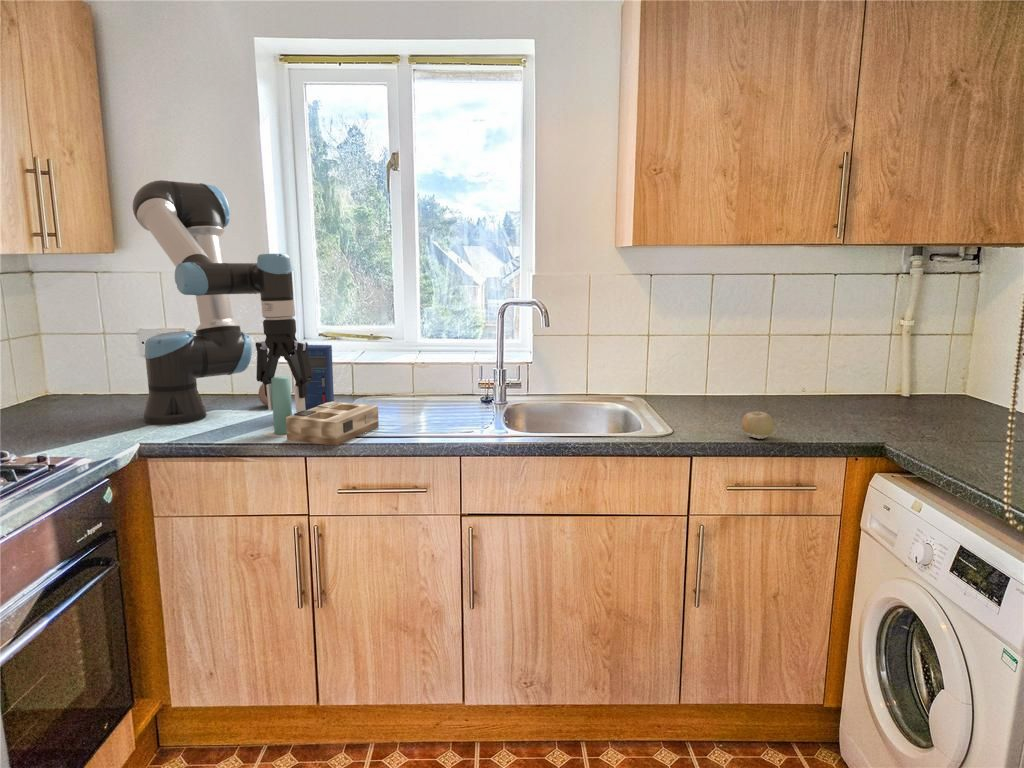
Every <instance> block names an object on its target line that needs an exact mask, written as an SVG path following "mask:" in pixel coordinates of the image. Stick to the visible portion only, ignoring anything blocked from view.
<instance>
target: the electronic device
mask: <svg viewBox="0 0 1024 768" xmlns="http://www.w3.org/2000/svg"><path fill="white" fill-rule="evenodd" d="M295 348H296V347H295ZM295 351H296V354H297V350H296V349H295ZM307 353H308V358H309V363H310V368H311V373H312V378H313V381H311V382H309V383H307V384H306V392H307V396H306V397H305V408H306V410H309V409H312V408H315V407H317V406H319V405H322V404H325V403H329V402H335V397H334V371H333V369H334V368H333V346H332V344H308V347H307ZM297 359H298V356H297ZM298 362H299V361H298ZM295 384H297V383H296V382H295ZM303 411H304V410H303ZM300 412H301V411H300ZM296 413H298V412H296Z"/></svg>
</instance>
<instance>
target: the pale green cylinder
mask: <svg viewBox="0 0 1024 768" xmlns="http://www.w3.org/2000/svg"><path fill="white" fill-rule="evenodd" d="M271 383H272V401H273V410H272V413H273V414H272V415H273V418H272V419H273V430H274V434H277V435H286V434H287V427H286V417H288V416H291V415H293V411H292V409H293V408H292V390H291V388H292V387H291V377H290V376H281V375H280V376H274V377H273V378H271Z"/></svg>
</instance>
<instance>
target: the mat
mask: <svg viewBox="0 0 1024 768" xmlns="http://www.w3.org/2000/svg"><path fill="white" fill-rule="evenodd" d="M260 436H265V437H270V438H271V437H273V438H281V439H287V434H286V435H277V434H274V429H271V430H270V431H266V432H264V433H261V434H260Z"/></svg>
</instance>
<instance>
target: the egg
mask: <svg viewBox="0 0 1024 768" xmlns="http://www.w3.org/2000/svg"><path fill="white" fill-rule="evenodd" d="M257 395H258V400H259V401H260V402H261V404H263V405H264V406H266V407H268V398H267V397H266V395H265V388H264V384H263V382H261V384H260V386H259V389H258V394H257Z"/></svg>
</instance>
